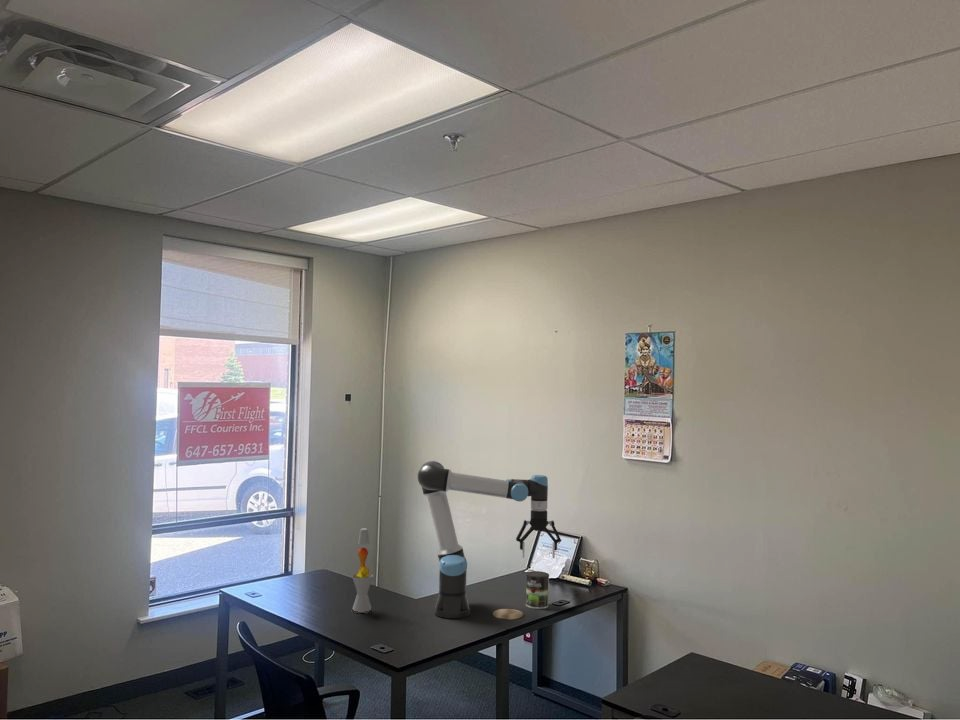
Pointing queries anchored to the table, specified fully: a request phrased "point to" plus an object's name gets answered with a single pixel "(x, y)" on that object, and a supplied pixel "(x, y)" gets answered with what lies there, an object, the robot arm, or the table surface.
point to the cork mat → (508, 614)
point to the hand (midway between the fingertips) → (538, 557)
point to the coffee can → (537, 589)
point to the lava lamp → (362, 576)
